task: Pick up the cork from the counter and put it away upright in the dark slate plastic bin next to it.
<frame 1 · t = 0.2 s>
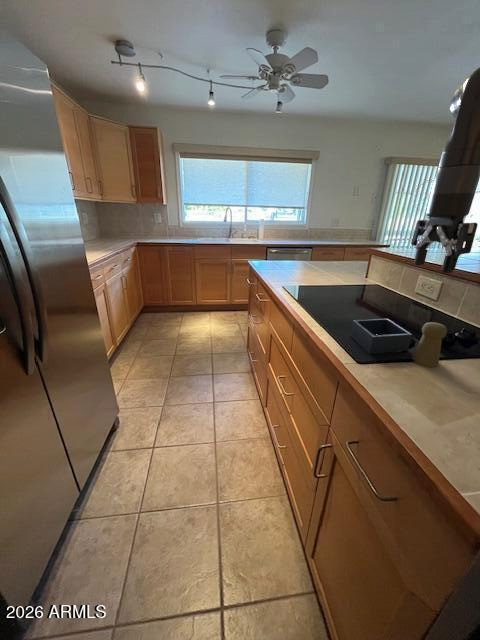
hand: (431, 268, 61), 25 cm above the counter, tool pointing down, fingers open, 8 cm apart
bin: (377, 343, 81), on the counter
cork: (424, 361, 71), on the counter
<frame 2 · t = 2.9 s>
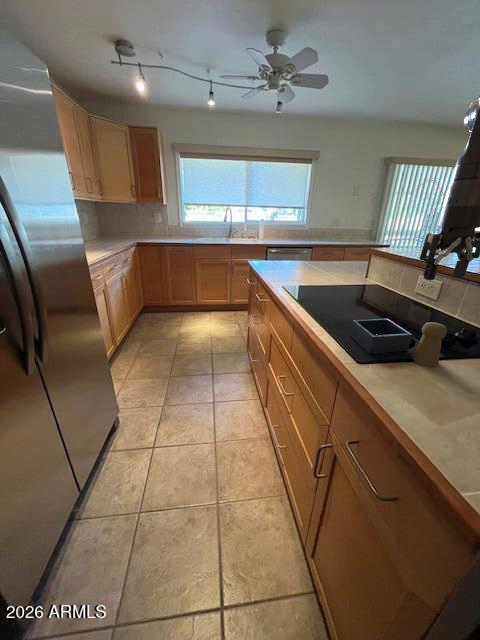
hand: (443, 278, 62), 23 cm above the counter, tool pointing down, fingers open, 8 cm apart
nothing on the counter moved.
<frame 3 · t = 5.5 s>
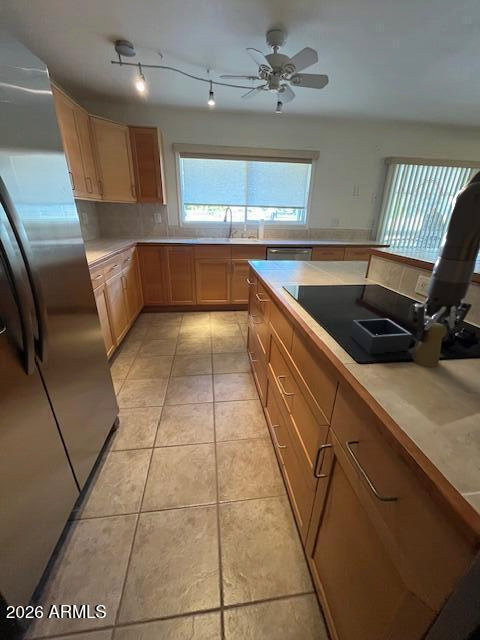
hand: (431, 340, 68), 6 cm above the counter, tool pointing down, fingers closed on cork, 5 cm apart
cork: (424, 361, 71), on the counter, touching gripper
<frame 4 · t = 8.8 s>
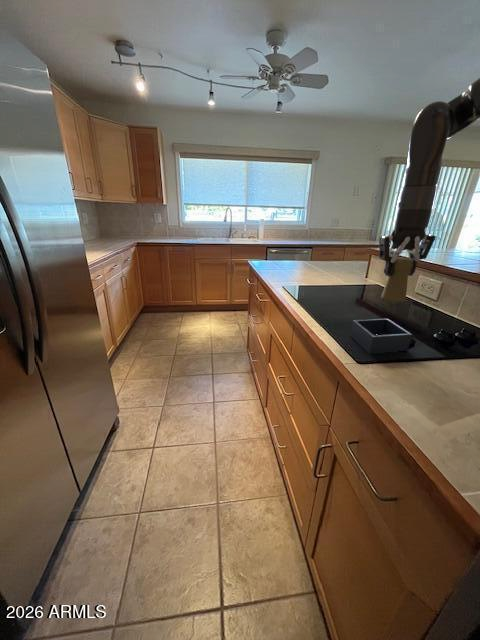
hand: (398, 275, 70), 22 cm above the counter, tool pointing down, fingers closed on cork, 5 cm apart
cork: (393, 298, 73), point 15 cm above the counter, touching gripper
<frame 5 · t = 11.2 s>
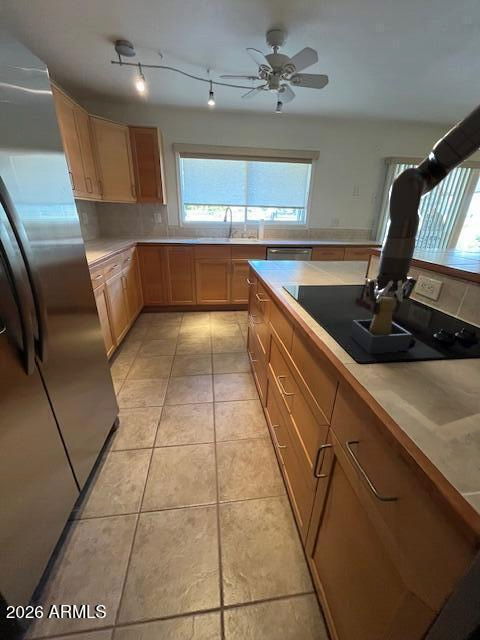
hand: (383, 312, 76), 10 cm above the counter, tool pointing down, fingers closed on cork, 5 cm apart
cork: (379, 333, 79), point 4 cm above the counter, touching gripper
when the fingers open (7 cm above the counter, at t = 12.5 s): cork stays where it is, resting on bin.
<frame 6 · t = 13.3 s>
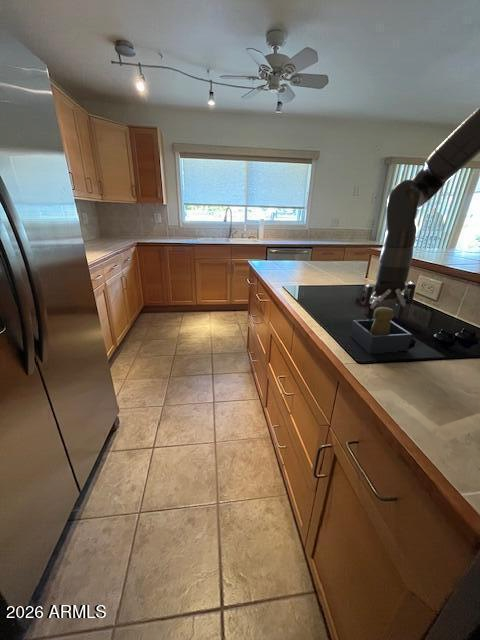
hand: (382, 318, 77), 8 cm above the counter, tool pointing down, fingers open, 8 cm apart
cork: (377, 342, 80), resting on bin
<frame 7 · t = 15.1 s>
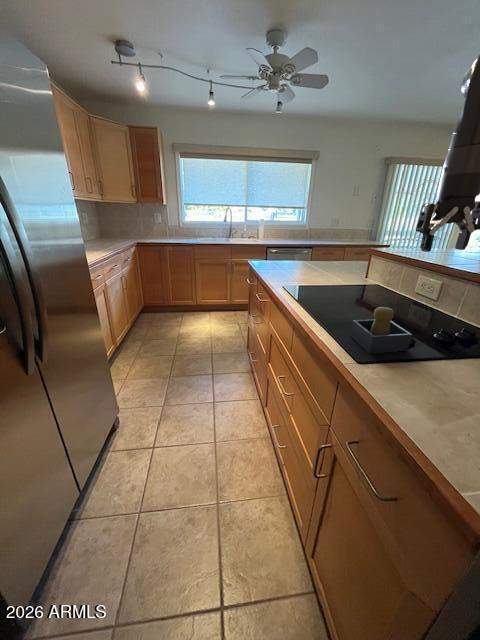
hand: (442, 250, 62), 29 cm above the counter, tool pointing down, fingers open, 8 cm apart
nothing on the counter moved.
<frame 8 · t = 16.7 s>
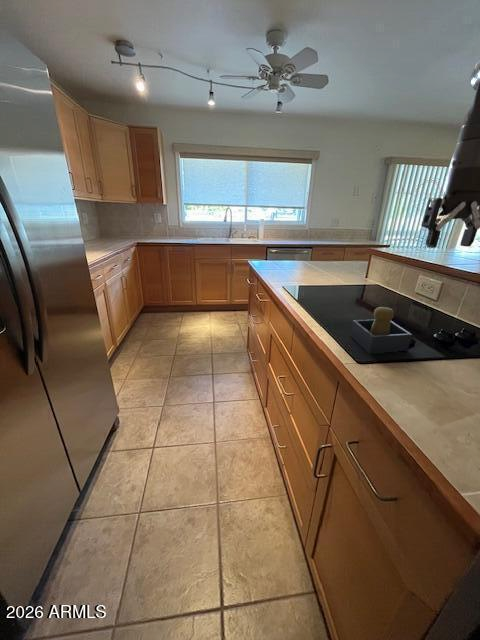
hand: (448, 246, 61), 30 cm above the counter, tool pointing down, fingers open, 8 cm apart
nothing on the counter moved.
at the end: cork inside the target area in the bin (0.1 cm from its centre), point 0.4 cm above the bin's base; cork tilted 0°; the gripper is holding nothing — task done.
